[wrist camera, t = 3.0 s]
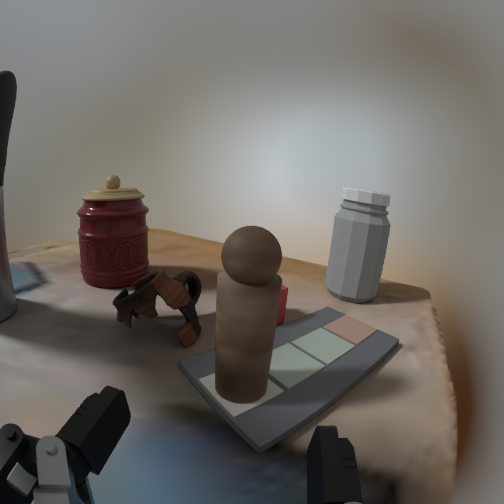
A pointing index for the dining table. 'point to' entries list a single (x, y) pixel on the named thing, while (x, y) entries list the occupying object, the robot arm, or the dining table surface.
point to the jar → (358, 246)
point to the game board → (297, 374)
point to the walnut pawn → (246, 313)
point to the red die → (282, 305)
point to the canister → (113, 236)
